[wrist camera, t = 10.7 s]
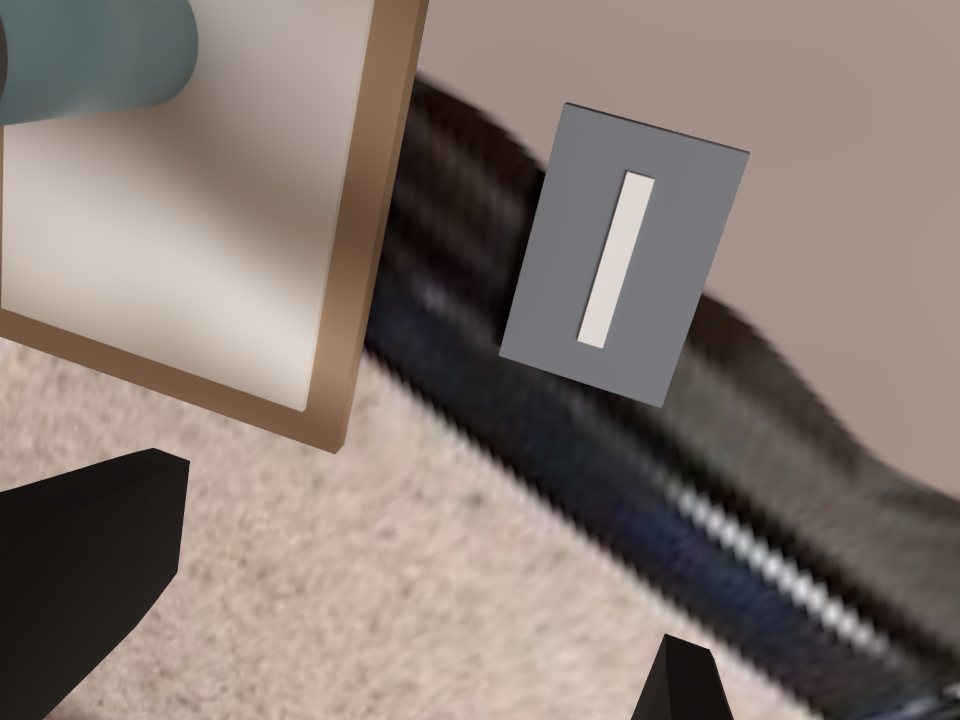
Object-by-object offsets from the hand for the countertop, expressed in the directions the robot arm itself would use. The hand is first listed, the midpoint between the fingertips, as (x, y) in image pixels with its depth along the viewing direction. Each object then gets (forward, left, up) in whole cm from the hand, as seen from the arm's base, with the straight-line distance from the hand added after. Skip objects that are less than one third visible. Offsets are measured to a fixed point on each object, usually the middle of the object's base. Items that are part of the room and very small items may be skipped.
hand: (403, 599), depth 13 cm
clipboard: (+3, +10, -10) cm, 14 cm away
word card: (+3, -1, -10) cm, 10 cm away
